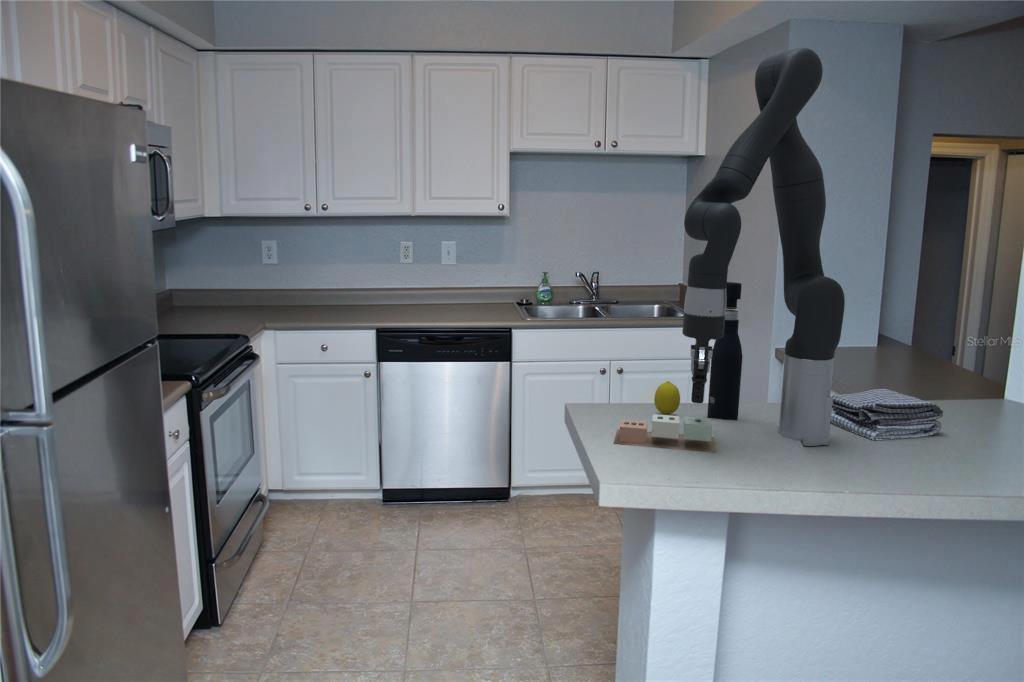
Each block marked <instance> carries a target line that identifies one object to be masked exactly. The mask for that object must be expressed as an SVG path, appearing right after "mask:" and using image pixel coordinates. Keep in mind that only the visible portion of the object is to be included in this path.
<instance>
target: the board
mask: <svg viewBox="0 0 1024 682" xmlns="http://www.w3.org/2000/svg"><path fill="white" fill-rule="evenodd" d="M651 435H652V431H647V438H646V444H639V443H627V442H619V436H620V428H619V429H618V428H617V429H616V433H615V437H614V439H613V444H612V445H618V446H620V445H621V446H631V447H632V446H633V447H645V448H656V449H669V450H680V451H681V450H682V451H691V452H704V453H717V447H716V442H715V441H716V440H715V436H711V441H702V440H689V439H684V433H683V434H681V433H679V436H678V439H677V438H664V437H652V436H651Z"/></svg>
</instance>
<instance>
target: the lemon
mask: <svg viewBox="0 0 1024 682" xmlns="http://www.w3.org/2000/svg"><path fill="white" fill-rule="evenodd" d="M653 402H654V406H655V408H656V409H657V411H658V412H659V413H661V414H662V415H669V416H671V414H673V413H675V412H676V411H678V409H679V406H680V403H681V394H680V390H679V388H678V387H677V385H676V384H674V383H672V382H671V381H669V380H667V381H665V382H662V383H661V384H660V385H659V386H658V387H657V388H656V390H655V393H654V399H653Z"/></svg>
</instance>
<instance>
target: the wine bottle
mask: <svg viewBox="0 0 1024 682" xmlns="http://www.w3.org/2000/svg"><path fill="white" fill-rule="evenodd" d="M742 286H743V285H742V283H741V282H735V281H732V282H731V281H730V282H729V281H727V286H726V297H727V302H726V314H725V325H724V336H723V337H722V338H721V339H716V340H714V345H713V346H712V349H713V353H712V358H711V359H710V370H709V372H710V374H709V385H708V387H709V389H708V402H707V403H708V404H707V416H706V418H709V419H713V420H714V419H715V420H726V421H727V420H728V421H738V419H739V408H740V406H739V405H740V397H741V395H740V393H741V383H742V369H743V368H742V367H743V349H742V344H741V340H740V336H739V323H740V321H739V319H738V318H739V317H738V315H739V312H738V310H737V308H738V300H741V298H742Z"/></svg>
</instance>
